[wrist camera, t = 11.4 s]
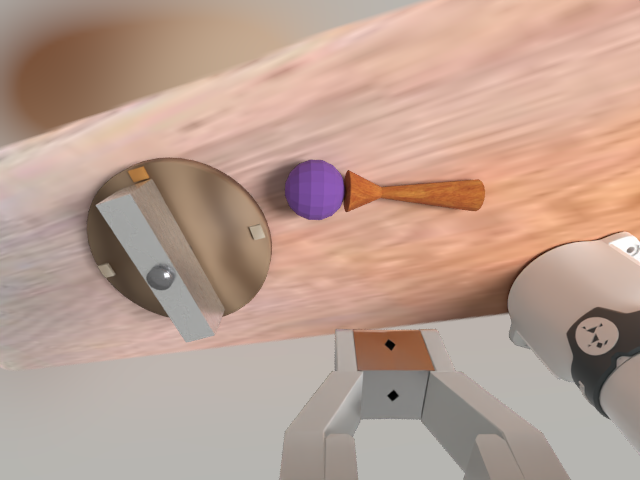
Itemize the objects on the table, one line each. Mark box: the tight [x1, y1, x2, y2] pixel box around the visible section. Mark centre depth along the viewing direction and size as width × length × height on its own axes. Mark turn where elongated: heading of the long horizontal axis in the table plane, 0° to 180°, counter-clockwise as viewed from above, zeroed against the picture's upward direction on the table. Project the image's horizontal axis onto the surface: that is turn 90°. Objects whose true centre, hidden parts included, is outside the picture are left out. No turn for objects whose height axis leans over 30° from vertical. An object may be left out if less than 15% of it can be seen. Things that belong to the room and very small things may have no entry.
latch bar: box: [96, 179, 225, 342], centre depth 36 cm, size 17×4×5 cm, turn 18°
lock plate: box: [87, 158, 272, 317], centre depth 39 cm, size 20×20×3 cm
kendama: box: [285, 160, 485, 220], centre depth 35 cm, size 6×6×20 cm
